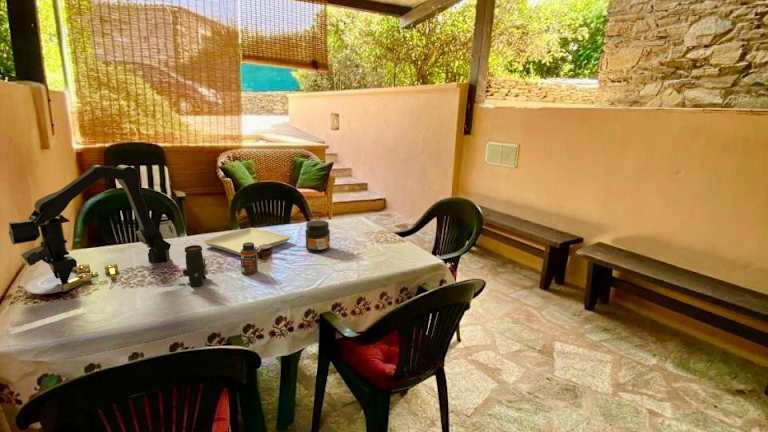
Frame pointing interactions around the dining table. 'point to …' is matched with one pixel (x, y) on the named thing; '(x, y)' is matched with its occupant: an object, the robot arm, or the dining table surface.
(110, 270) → the knob near
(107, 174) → the robot arm
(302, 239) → the dining table surface
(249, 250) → the supplement bottle
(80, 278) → the knob left
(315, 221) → the supplement container
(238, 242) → the square plate
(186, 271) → the scope
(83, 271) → the knob front
